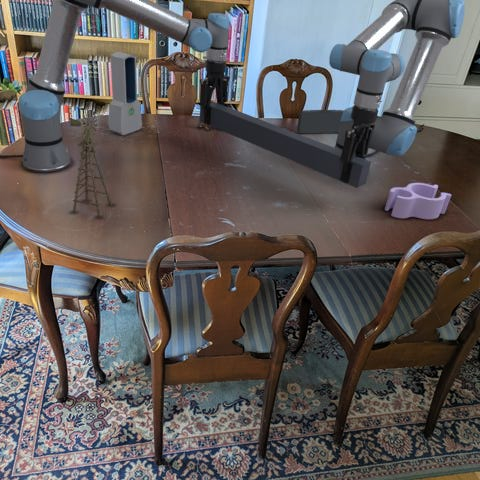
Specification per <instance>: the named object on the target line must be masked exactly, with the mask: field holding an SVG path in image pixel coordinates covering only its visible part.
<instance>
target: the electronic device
mask: <svg viewBox="0 0 480 480" xmlns="http://www.w3.org/2000/svg"><path fill="white" fill-rule="evenodd" d="M110 72H111V89H112V99H111V101H110V103H109V110H108V111H109V112H108V120H107V121H108V122H107V125H108V128H109V130H110V131H111V132H113V133H114V134H115V133H116V134H118V135H121V136H125V135H128V134H132V133H134V132H136V131H139V130H141V129H142V127H143V119H142V108H141V101H140V100H138V82H137V81H138V80H137V79H138V78H137V55H133V54H129V53H126V52H123V51H122V52H121V51H115V52H113V53H111V54H110Z"/></svg>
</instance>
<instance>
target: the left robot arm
mask: <svg viewBox="0 0 480 480" xmlns="http://www.w3.org/2000/svg"><path fill="white" fill-rule="evenodd" d="M52 1H53V2H52V5H51V8H50V13H49V18H48V22H47V25H46V29H45V34H44V38H43V42H42V46H41V50H40V54H39V59H38V63H37V66H36V70H35V73H34V74H31V75H30V76H29V78H28V82H27V86H26V91H25V92H22V93H21V94H20V96H18V97H19V98H18V111H19V112H20V119H21V125H22V132H23V137H24V148H23V153H22V154H10V155H9V154H8V155H7V154H6V155H5V154H1V155H0V158H3V159H4V158H6V159H7V158H21V159H22V160H21V161H22V166H23V168H24V169H25V170H27V171H29V172H33V173H39V174H46V173H56V172H61V171H63V170H66V169H67V168H69V167H70V166H71V163H72V159H71V155H70V153H69V149H68V147H67V146H66V145H65V143H64V140H63V132H62V123H61V109H62V104H63V101H64V96H65V93H66V86H65V84H64V83H63V82H64V78H65V75H66V70H67V67H68V63H69V59H70V55H71V52H72V48H73V45H74V40H75V37H76V33H77V31H78V26H79V24H80V23H79V22H80V19H81V15H82V13H83V12H85V11H88V9H89V6H90V7H93V8H94V9H97V10H101V9H103V8H104V9H106V10H108V11H109V12H112V13H114V14H117V15H119V16H121V17H123V18H125V19H126V20H130V21H132V22H135V23H136V24H138V25H141V26H143V27H145V28H147V29H149V30H152V31H154V32H156V33H158V34H160V35H163V36H165V37H168V38H169V39H172V40H174V41H176V42H178V43H180V44H181V45H184V46H187V47H189V48H191V49H192V50H193V51H194V52H197V53H205V58H206V60H205V71H206V75H205V77H204V78H200V79H199V84H200V89H199V90H200V91H199V106H200V105H201V106H203V107H204V123H206V124H208V125H207V126H209V125H210V119H211V108H210V103H211V101H212V99H213V94H214V91H215V97H216V103H218V104H221V105H224V106H226V103H228V92H229V82H230V79H231V78H230V76H229V75H225V73H226V71H227V57H228V44H229V33H230V17H229V16H228V15H227V14H225V13H219V12H210V13H209V14H208V16H207V18H204V19H203V18H202V19H201V18H189V17H188V18H187V17H185V16H183V15H180V14H178V13H176V12H175V11H173V10H170V9H168V8H166V7H164V6H162V5H160V4H158V3H156V2H154V1H152V0H52ZM206 103H207V104H206ZM204 123H203V124H204Z"/></svg>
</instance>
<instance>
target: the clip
mask: <svg viewBox="0 0 480 480" xmlns="http://www.w3.org/2000/svg"><path fill="white" fill-rule="evenodd" d="M438 188H439V185H438V184H433V185H432V184H429V183H424V182H411V183H408V184H407V186H405V187H400V186H399V187H398V186H397V187H396V186H395V187H392V188H390V190H389V192H388V196H387V199H386V203H385V207H384V211H386V212H388V211H390V209H392V211H391V213H390V216H391V217H393V218H397V219H408V218H418V219H420V220H421V219H422V220H434V219H435V220H436V219H438V218H439V216H440V214H441V215H445V213H446V210H447V208H448V206H449V203H450V200H451V198H452V194H451V193H448V192H440V194H439V197H436V194H437V192H438Z"/></svg>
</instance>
